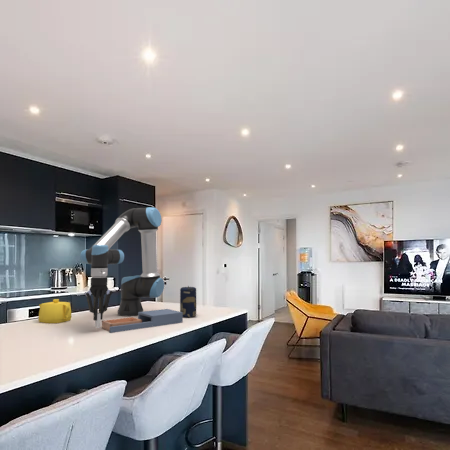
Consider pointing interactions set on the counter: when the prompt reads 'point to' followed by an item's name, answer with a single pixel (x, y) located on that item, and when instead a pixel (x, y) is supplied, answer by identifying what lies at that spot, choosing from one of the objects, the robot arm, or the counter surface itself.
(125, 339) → the counter surface
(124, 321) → the dish
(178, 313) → the blue-grey box with strip
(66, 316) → the teapot
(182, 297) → the canister
